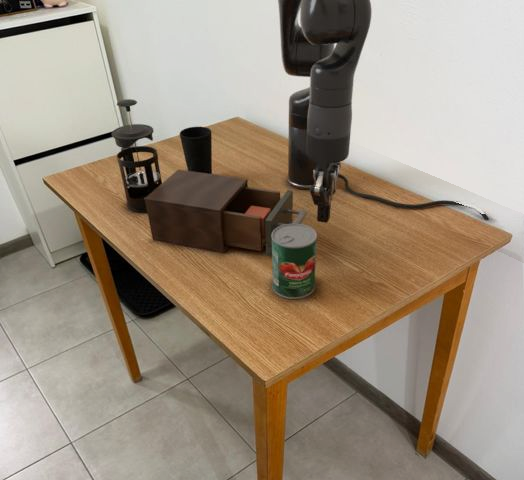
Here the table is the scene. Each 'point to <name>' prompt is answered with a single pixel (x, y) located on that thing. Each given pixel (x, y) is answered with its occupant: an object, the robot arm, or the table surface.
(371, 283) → the table surface
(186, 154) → the cup
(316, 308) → the table surface
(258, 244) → the drawer
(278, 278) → the canned tomato
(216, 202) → the cabinet
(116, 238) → the table surface
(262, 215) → the block
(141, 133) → the french press
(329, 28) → the robot arm
